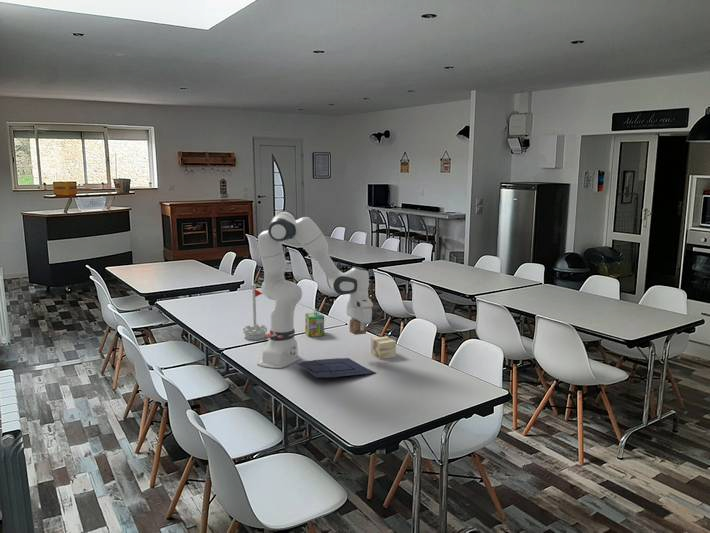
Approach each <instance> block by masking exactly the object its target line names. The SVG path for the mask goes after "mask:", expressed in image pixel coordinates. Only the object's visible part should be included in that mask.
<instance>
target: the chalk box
mask: <svg viewBox="0 0 710 533" xmlns="http://www.w3.org/2000/svg"><path fill="white" fill-rule="evenodd" d="M304 321H305V324H304V325H305V327H304V329H305V331H304V332H305V334H306V336H307V337H308V338H315V337H317V338H318V337H325V316H324V314H322V312H318V308H314V312H307V313H305V319H304Z"/></svg>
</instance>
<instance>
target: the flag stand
mask: <svg viewBox="0 0 710 533" xmlns="http://www.w3.org/2000/svg"><path fill="white" fill-rule="evenodd" d="M250 288H251V290H252V292H251V293H252V313H253V314H252V318H253V326H251V324H248V325H245V326H243V328H242V332H243V334H244V335H245V338H246V340H261V339H264V338H266V333H267V332H268V326H266V324H261V325H259V324H258V323H257V303H256V302H257V297H258V296H260V295H262V294H263V293H262V291H259V290H258V289H256V288H257V285H256V284H255V283H251V286H250ZM263 295H264V294H263Z"/></svg>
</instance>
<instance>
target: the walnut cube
mask: <svg viewBox="0 0 710 533" xmlns="http://www.w3.org/2000/svg"><path fill="white" fill-rule="evenodd" d="M360 325H361V324H360V321H358V320H356V319H353V320H351V319H349V333H350V334H353V335H355V336H357V335H359V336H360V335H365V334H367V325H368V324H365V326H364V330H363V331H361V330H359V326H360Z"/></svg>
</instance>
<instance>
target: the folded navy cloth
mask: <svg viewBox="0 0 710 533" xmlns="http://www.w3.org/2000/svg"><path fill="white" fill-rule="evenodd" d="M295 364H296V365H297V366H299V367H300V368H302V370H303V369H304V370H305V371H307V372H308V373H309V374H311V375H312V376H314V377H316V378H327V379H328V378H339V377H346V376H359V375H370V374H376V372H375V371H373V370H371V369H370V368H368V367H366V366H364V365H361V364H359V363H358V362H356V361H354V360H352V359H351V358H349V357H344V358H343V357H341V358H340V357H339V358H337V357H336V358H325V359H323V358H322V359H313V360H305V361H300V362H295Z"/></svg>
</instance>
